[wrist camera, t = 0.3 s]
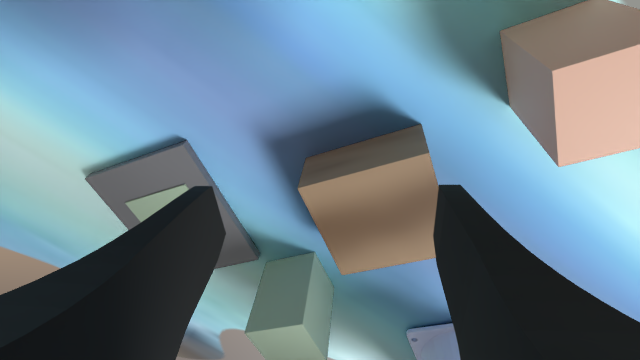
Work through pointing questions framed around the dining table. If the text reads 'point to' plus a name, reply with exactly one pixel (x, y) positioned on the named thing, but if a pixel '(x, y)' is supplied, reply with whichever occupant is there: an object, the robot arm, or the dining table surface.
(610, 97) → the terracotta block
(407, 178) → the walnut slab
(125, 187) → the card
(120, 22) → the dining table surface
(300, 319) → the sage block
